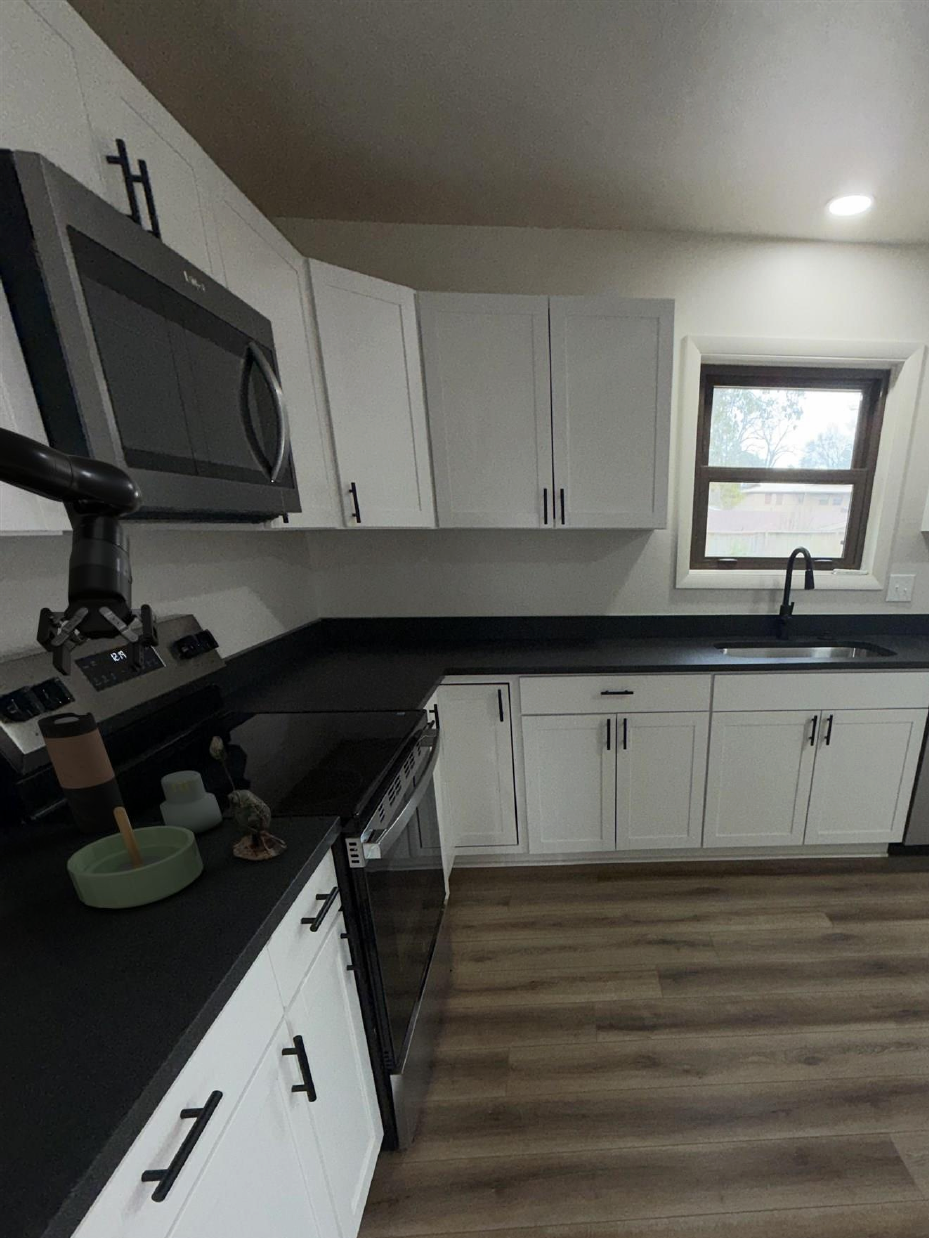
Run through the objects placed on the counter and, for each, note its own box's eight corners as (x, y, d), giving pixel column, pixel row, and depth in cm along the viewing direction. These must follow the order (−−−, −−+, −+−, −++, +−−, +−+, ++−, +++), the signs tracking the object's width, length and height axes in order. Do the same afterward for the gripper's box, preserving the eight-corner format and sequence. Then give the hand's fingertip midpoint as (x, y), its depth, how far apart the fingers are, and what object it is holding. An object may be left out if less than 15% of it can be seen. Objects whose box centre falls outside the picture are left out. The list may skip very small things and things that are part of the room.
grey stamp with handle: (113, 892, 95) (85, 818, 90) (126, 873, 100) (100, 801, 95) (160, 885, 96) (136, 812, 91) (171, 866, 101) (148, 796, 96)
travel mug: (83, 838, 112) (41, 727, 104) (73, 825, 117) (32, 718, 108) (135, 824, 117) (98, 717, 109) (123, 811, 122) (87, 708, 113)
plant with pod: (233, 874, 101) (199, 753, 93) (232, 844, 110) (201, 731, 102) (290, 861, 105) (262, 744, 96) (284, 833, 114) (258, 724, 105)
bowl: (63, 921, 89) (47, 884, 87) (103, 867, 103) (90, 834, 100) (191, 901, 94) (180, 865, 91) (213, 852, 107) (203, 820, 105)
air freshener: (165, 823, 117) (149, 772, 113) (217, 812, 122) (203, 762, 118) (172, 846, 109) (154, 791, 105) (226, 833, 114) (212, 780, 110)
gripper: (29, 562, 92) (23, 659, 87) (144, 560, 97) (145, 652, 92) (58, 597, 99) (54, 688, 94) (164, 593, 103) (166, 681, 98)
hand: (99, 670), depth 93 cm, fingers open, 8 cm apart
